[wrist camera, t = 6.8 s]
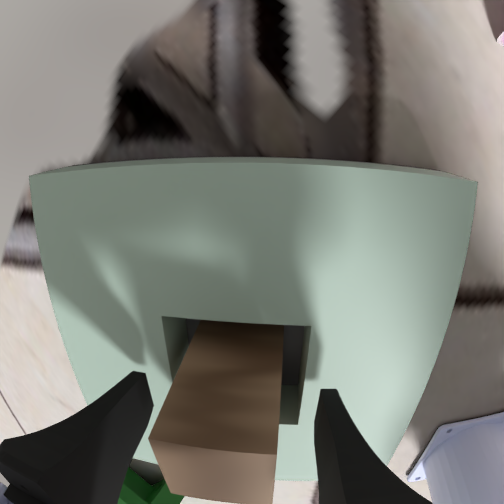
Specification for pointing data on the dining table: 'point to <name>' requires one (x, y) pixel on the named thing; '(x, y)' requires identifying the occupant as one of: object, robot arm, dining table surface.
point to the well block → (259, 277)
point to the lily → (501, 39)
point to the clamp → (145, 491)
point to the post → (223, 415)
